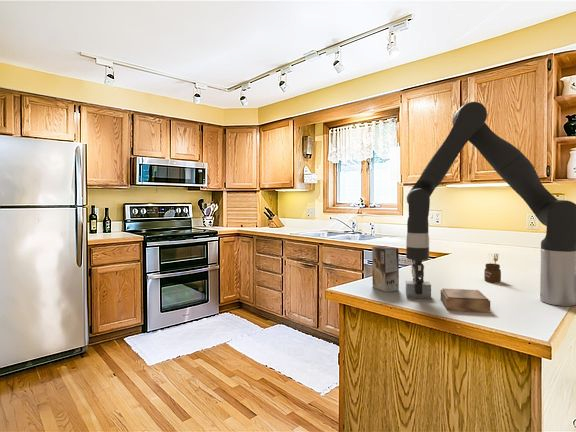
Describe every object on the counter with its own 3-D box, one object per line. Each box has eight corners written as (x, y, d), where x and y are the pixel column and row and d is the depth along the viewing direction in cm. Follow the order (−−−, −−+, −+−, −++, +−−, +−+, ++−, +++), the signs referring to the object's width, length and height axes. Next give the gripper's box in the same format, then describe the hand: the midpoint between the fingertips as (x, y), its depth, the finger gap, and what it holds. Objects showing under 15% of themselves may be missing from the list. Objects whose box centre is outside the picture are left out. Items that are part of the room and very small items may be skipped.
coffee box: (399, 290, 134) (399, 248, 133) (385, 292, 131) (385, 249, 131) (385, 285, 142) (384, 245, 142) (371, 287, 140) (371, 246, 139)
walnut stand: (479, 301, 118) (479, 289, 117) (490, 312, 106) (490, 299, 106) (440, 299, 121) (440, 288, 120) (446, 310, 109) (447, 297, 109)
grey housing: (429, 295, 127) (429, 279, 126) (431, 299, 122) (431, 282, 122) (405, 294, 129) (405, 278, 128) (406, 298, 124) (406, 281, 124)
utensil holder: (496, 279, 149) (496, 251, 149) (504, 283, 143) (504, 253, 142) (481, 279, 150) (481, 251, 149) (488, 283, 143) (488, 253, 143)
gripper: (431, 248, 117) (431, 297, 117) (426, 243, 131) (426, 286, 131) (407, 247, 119) (407, 295, 119) (405, 242, 132) (404, 285, 133)
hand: (417, 291), depth 125 cm, fingers open, 8 cm apart
